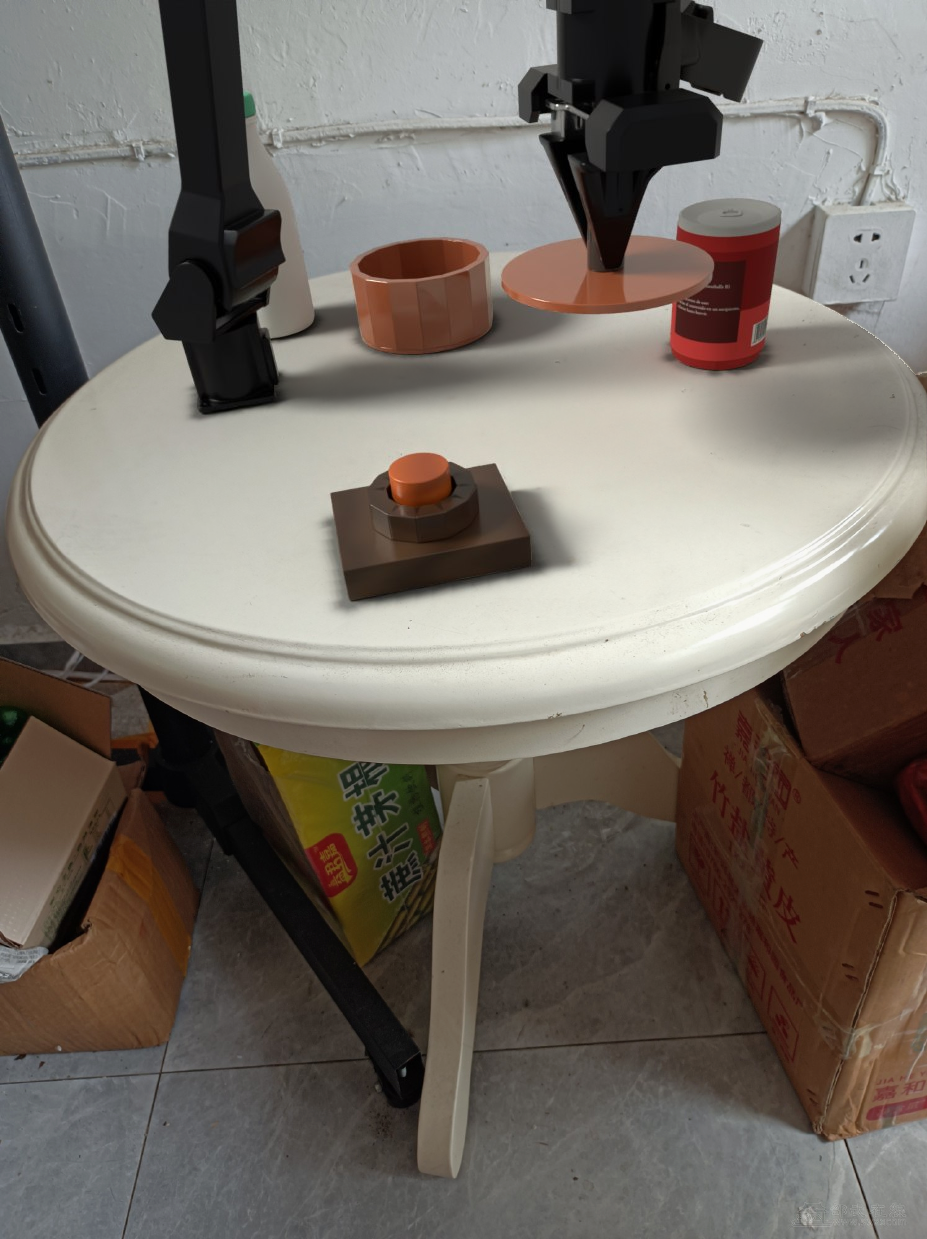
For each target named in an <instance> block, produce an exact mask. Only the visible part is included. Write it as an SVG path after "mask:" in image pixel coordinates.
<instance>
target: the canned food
mask: <svg viewBox="0 0 927 1239" xmlns="http://www.w3.org/2000/svg"><path fill="white" fill-rule="evenodd" d="M676 224H677V225H676V235H675V240H677V241H682V242H685V243H688V244H691V245H694V246H696V247H699V248H700V249H702V250H704V251H705V252H707V253H708V254H709V255H710V256H711V257H712V259H713V262H714V274H713V278H712V280H711V282H710V283H709V284H708V285H707V286H706V287H705V288H704V289H703V290H701V291H700V292H698V293H696V294H694V295H693V296H691V297H688V298H686V299H684V300H681V301H678V302H675V303H672V304H671V316H670V332H669V345H670V350H671V354H672V356H673V358H675V360H676V361H677V362H680V363H682V364H683V365H686V366H688V367H690V368H694V369H695V368H696V369H699V370H708V371H726V370H734V369H737V368H742V367H745V366H747V365H749V364H751V363H753V362H754V361H756V360H757V359H758V357H759V356H760V355H761V352H762V351H763V349H764V347H765V342H766V334H767V328H768V320H769V315H770V314H769V313H770V306H771V300H772V293H773V286H774V278H775V270H776V264H777V257H778V250H779V242H780V235H781V228H782V227H781V226H782V210H781V208H780V207H778V205H776V204H773V203H771V202H768V201H764V200H761V199H755V198H744V197H743V198H742V197H741V198H740V197H729V198H727V197H726V198H714V199H710V200H709V199H708V200H703V201H700V202H696V203H692V204H689V205H688V206H686V207H684V208H683V209H681V210H680V211H679V213H678V219H677V222H676Z"/></svg>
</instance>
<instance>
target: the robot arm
mask: <svg viewBox="0 0 927 1239" xmlns="http://www.w3.org/2000/svg"><path fill="white" fill-rule="evenodd" d="M157 4H158V5H157V6H158V12H159V20H160V28H161V36H162V43H163V51H164V59H165V60H164V61H165V66H166V76H167V82H168V89H169V97H170V99H169V100H170V105H171V114H172V121H173V130H174V138H175V144H176V152H177V161H178V168H179V176H180V190H179V193H178V197H177V199H176V203H175V207H174V210H173V213H172V216H171V219H170V223H169V226H168V230H167V274H168V275H167V276H168V281H167V283H166V285H165V287H164V289H163V291H162V292H161V295H160V296H159V298H158V299H157V302H156V304H155V306H154V307H153V309H152V312H151V315H150V316H151V318H152V320H153V322H154V323H155V324H154V325H155V326H156V327H157V329H158V330H159V332H160V334H161V336H162V338H163V339H164V340H166V341H176V342H181V345H182V348H183V352H184V355H185V358H186V361H187V365H188V368H189V371H190V375H191V379H192V381H193V384H194V387H195V388H194V389H195V391H196V394H197V400H196V402H197V403H196V408H197V411H198V413H201V414H202V413H208V412H214V411H219V410H226V409H233V408H239V407H246V406H250V405H257V404H263V403H268V402H273V401H275V400H276V399H277V393H276V386H278V385H279V384H280V376H279V375H280V374H279V368H278V364H277V361H276V360H277V359H276V356H275V351H274V348H273V343H272V338H270V334H269V330H268V329H267V328H266V327H264V328H261V327H260V323H259V318H258V314H257V311H258V310H259V309H261V308H262V307H266V306H267V305H269V300H270V288H271V285H272V284H273V282H274V281H275V280H276V278H277V275H278V270H279V265H281V264H283V263H284V262H285V261H286V259H285V256H284V253H283V251H282V246H281V240H280V239H281V224H282V218H281V214H280V211H279V210H275V209H264V207H263V205H262V204H261V202H260V200H259V198H258V197H257V195H256V193H255V192H254V190H253V188H252V186H251V181H250V174H249V160H248V147H247V134H246V121H245V108H244V95H243V92H244V83H243V71H242V60H241V58H242V57H241V44H240V31H239V18H238V5H237V0H157ZM545 9H546V10H551V11H555V16H556V18H555V19H556V20H555V22H556V25H555V26H556V63H553V64H545V65H537V66H530V67H529V69H528V71H527V72H526V73H525V74H524V76H523V77H522V79H521V80H520V81H519V83H518V84H517V100H518V101H517V102H518V118H520V119H521V120H523V121H524V122H526V123H528V124H535V123H539V120H540V119H539V118H540V115H546V114H550V129H551V130H550V131H549V132H544V133H540V134H539V135H538V139H539V140H538V141H539V143H540V145H541V146H542V147H543V150H544V151H545V154H546V156H547V159H548V161H549V164H550V166H551V168H552V170H553V172H554V175H555V177H556V179H557V182H558V184H559V186H560V189H561V192H562V193H563V195H564V198H565V201H566V202H567V205H568V207H569V209H570V211H571V214H572V218H573V220H574V222H575V224H576V227H577V229H578V232H579V234H580V238H582V239H583V241H584V244H585V246H586V249H587V220H588V224H589V227H590V230H591V233H592V236H593V240H594V243H595V246H596V249H597V252H598V255H599V258H600V261H601V264H602V266H603V268H604V269H606V270H610V269H616V268H619V267H620V266H621V265H622V262H623V258H624V255H625V252H626V249H627V246H628V243H629V239H630V236H631V235H632V233H633V229H634V226H635V223H636V220H637V217H638V214H639V211H640V208H641V206H642V205H641V204H642V202H643V199H644V196H645V194H646V191H647V188H648V186H649V183H650V182H651V180H652V179H653V178H654V177H655V176H656V174H658V173H659V172H660V171H661V170H662V169H663V168H664V167H670V166H677V165H683V164H690V163H696V162H703V161H710V160H715V159H716V158H718V157H720V156H721V148H722V147H721V146H722V136H723V125H724V114H723V113H722V111H721V110H720V109H719V108H718V106H716V104H715V103H714V102H713V101H712V99H711V98H710V97H709V96H707V95H705V94H702V93H698V92H695V91H692V90H690V89H687V88H684V87H680V85H681V84H680V83H681V82H680V81H683V82H686V83H689V85H690V87H691V88H692V89H695V90H697V91H702V92H703V93H704V92H705V93H707V94H711V95H714V96H717V97H720V96H722V98H723V99H725V100H729V101H732V102H735V103H738V104H741V102H742V99H743V97H744V94H745V91H746V89H747V86H748V84H749V81H750V80H751V76H752V73H753V71H754V68H755V65H756V63H757V60H758V58H759V55H760V52H761V50H762V47H763V44H764V41H765V40H763V39H761V38H759V37H757V36H754V35H751V34H748V33H746V32H742V31H740V30H737V29H734V28H731V27H729V26H725V25H722V24H720V23H716V22H715V13H714V11H715V10H714V7H713V6H711V5H705V4H700V3H697V2H696V0H545Z"/></svg>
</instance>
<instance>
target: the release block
mask: <svg viewBox="0 0 927 1239" xmlns="http://www.w3.org/2000/svg"><path fill="white" fill-rule="evenodd" d="M448 463H449V468H450V477H451V486H452V491H451V493H450V495H449V497H447V498H445V499H443V500H441V501H440V502H438V503H435V504H430V505H425V506H419V507H415V506H405V505H400V504H398V503H397V502H396V501H395V500H394V499H393V497H392V491H391V485H390V479H389V472H388V471H389V469H388V470H385V471H384V472H381V473H380V474H378V475H377V476H376V477H375V478H374V480H373V481H372V482H371V483H370V485H365V486H361V487H355V488H348V489H343V490H337V491H333V492H330V493H329V496H330V503H331V508H332V514H333V520H334V526H335V527H334V528H335V533H336V539H337V545H338V551H339V557H340V563H341V564H340V565H341V570H342V575H343V579H344V583H345V589H346V592H347V597H348V600H349V601H357V600H361V599H366V598H373V597H375V596H382V595H387V594H392V593H397V592H404V591H408V590H413V589H418V588H423V587H429V586H434V585H440V584H445V583H449V582H454V581H459V580H464V579H468V578H469V579H470V578H476V577H481V576H485V575H491V574H495V573H500V572H501V573H502V572H505V571H512V570H516V569H521V568H526V567H531V566H532V565H533V556H532V555H533V554H532V536H531V533H530V531H529V529H528V527H527V525H526V523H525V522H524V519H523V517H522V515H521V513H520V510H519V509H518V506H517V504H516V502H515V500H514V498H513V496H512V494H511V492H510V490H509V488H508V486H507V484H506V482H505V480H504V478H503V476H502V474H501V472H500V470H499V467H498V466H497V464H496V463H495V462H493V463H486V464H482V465H476V466H471V467H464V466H461V465H460V464H458V463H456V462H453V461H448Z"/></svg>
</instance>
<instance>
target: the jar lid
mask: <svg viewBox="0 0 927 1239" xmlns="http://www.w3.org/2000/svg"><path fill="white" fill-rule="evenodd" d="M713 274H714V262H713V259H712V257H711V256H710V255H709V254H708V253H707V252H705V251H704V250H702V249H700V248H699V247H696V246H694V245H691V244H688V243H685V242H682V241H677V240H676V239H674V238H667V237H661V236H651V235H641V234H640V235H639V234H638V235H637V234H631V236H630V239H629V243H628V246H627V249H626V252H625V255H624V258H623V262H622V265H621V266H620V267H619V268H616V269H610V270H606V269H604V268H603V266H602V264H601V261H600V258H599V255H598V252H597V249H596V246H595V243H594V240H593V236H592V233H591V230H590V227H589V224H588V220H587V249H586V246H585V244H584V241H583V239H582V237H578V238H577V237H576V238H571V239H566V240H560V241H556V242H552V243H548V244H547V243H546V244H543V245H540V246H537V247H535V248H532V249H530V250H527V251H525V252H523V253H521V254H519V255H516V256H515V257H514V258H513V259H511V260H509V261H508V262H507V263H506V264H505V265H504V267H503V268H502V270H501V273H500V282H501V283H500V284H501V288H502V290H503V292H504V293H505V294H506V295H507V296H508V297H509V298H511V299H512V300H513V301H516V302H518V303H520V304H522V305H525V306H528V307H530V308H535V309H538V310H543V311H547V312H554V313H561V314H573V315H612V314H613V315H615V314H624V313H633V312H640V311H646V310H651V309H657V308H661V307H665V306H668V305H672V303H675V302H678V301H681V300H684V299H686V298H688V297H691V296H693V295H694V294H696V293H698V292H700V291H701V290H703V289H704V288H705V287H706V286H707V285H708V284H709V283H710V282H711V280H712V278H713Z"/></svg>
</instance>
